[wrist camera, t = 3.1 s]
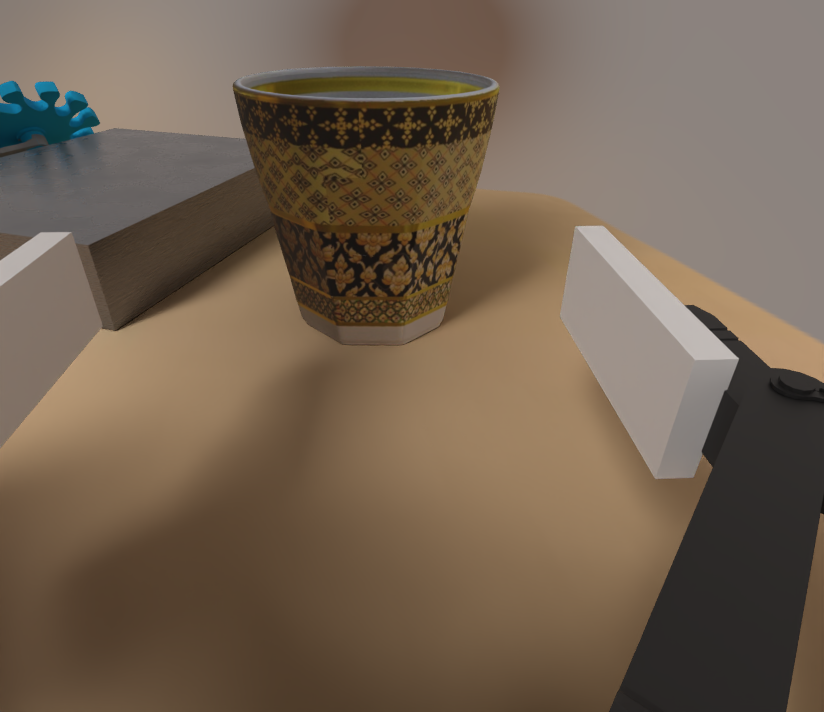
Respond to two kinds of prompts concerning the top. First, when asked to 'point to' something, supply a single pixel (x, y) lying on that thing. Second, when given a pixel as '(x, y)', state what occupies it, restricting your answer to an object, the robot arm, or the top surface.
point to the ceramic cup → (368, 188)
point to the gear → (41, 118)
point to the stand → (135, 209)
